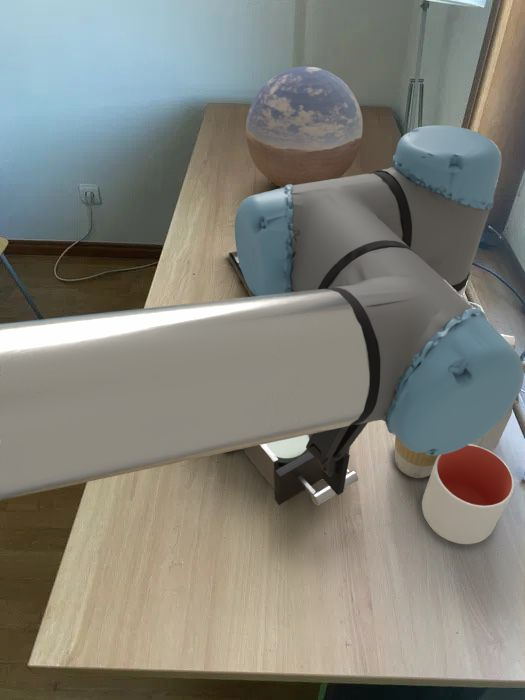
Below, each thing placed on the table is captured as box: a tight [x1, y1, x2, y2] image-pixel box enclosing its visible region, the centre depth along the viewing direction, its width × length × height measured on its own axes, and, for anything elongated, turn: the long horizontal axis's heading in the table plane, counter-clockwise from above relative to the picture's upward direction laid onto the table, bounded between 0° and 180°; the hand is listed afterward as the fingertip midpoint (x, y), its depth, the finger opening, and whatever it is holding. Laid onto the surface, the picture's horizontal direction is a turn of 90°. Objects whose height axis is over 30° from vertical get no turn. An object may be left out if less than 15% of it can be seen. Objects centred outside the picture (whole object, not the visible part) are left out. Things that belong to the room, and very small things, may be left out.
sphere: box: [245, 65, 364, 188], centre depth 145 cm, size 30×30×30 cm
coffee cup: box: [394, 435, 438, 479], centre depth 82 cm, size 10×10×15 cm
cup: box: [421, 444, 515, 545], centre depth 76 cm, size 10×10×10 cm
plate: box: [266, 435, 310, 463], centre depth 85 cm, size 7×7×2 cm
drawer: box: [241, 434, 359, 507], centre depth 83 cm, size 21×13×7 cm, turn 34°
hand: (378, 456), depth 64 cm, fingers open, 13 cm apart
